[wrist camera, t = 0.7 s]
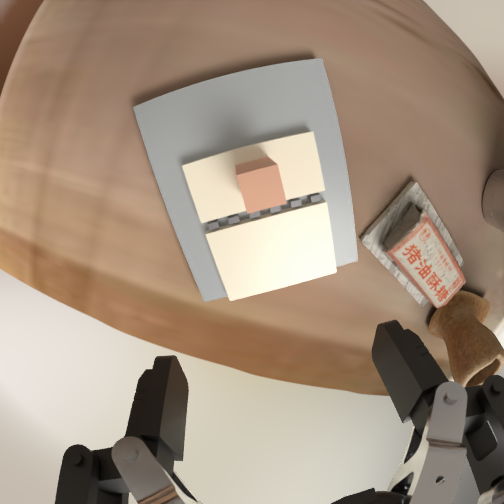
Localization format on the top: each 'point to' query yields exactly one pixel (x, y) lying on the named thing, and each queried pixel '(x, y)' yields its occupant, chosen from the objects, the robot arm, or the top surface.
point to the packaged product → (417, 248)
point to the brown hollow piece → (468, 338)
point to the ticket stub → (255, 176)
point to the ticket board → (264, 221)
